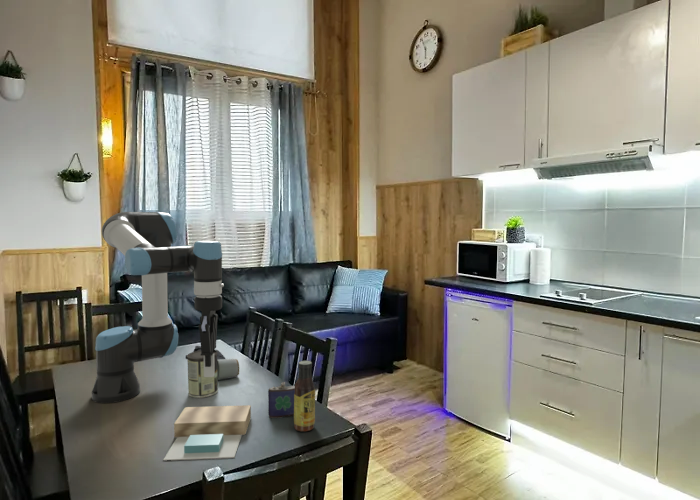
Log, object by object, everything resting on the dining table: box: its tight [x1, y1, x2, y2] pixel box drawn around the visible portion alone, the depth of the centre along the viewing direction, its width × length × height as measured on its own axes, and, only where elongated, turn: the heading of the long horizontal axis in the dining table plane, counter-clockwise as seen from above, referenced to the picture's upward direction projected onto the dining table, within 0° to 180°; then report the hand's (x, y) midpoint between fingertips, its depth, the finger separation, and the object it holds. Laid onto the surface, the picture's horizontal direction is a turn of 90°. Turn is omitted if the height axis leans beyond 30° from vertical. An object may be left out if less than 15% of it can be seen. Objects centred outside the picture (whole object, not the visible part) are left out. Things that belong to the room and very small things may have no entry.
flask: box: [267, 381, 295, 419], centre depth 140 cm, size 9×3×11 cm, turn 103°
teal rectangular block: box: [184, 434, 223, 453], centre depth 120 cm, size 9×6×2 cm, turn 95°
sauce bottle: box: [293, 360, 316, 433], centre depth 132 cm, size 7×6×20 cm
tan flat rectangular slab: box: [173, 404, 252, 438], centre depth 133 cm, size 20×11×4 cm, turn 95°
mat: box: [162, 435, 243, 462], centre depth 121 cm, size 18×12×1 cm, turn 95°
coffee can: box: [186, 350, 219, 399], centre depth 159 cm, size 10×10×14 cm
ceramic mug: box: [217, 358, 240, 381], centre depth 175 cm, size 11×8×8 cm
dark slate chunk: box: [185, 345, 226, 360], centre depth 196 cm, size 15×22×5 cm
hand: (209, 376), depth 127 cm, fingers closed
